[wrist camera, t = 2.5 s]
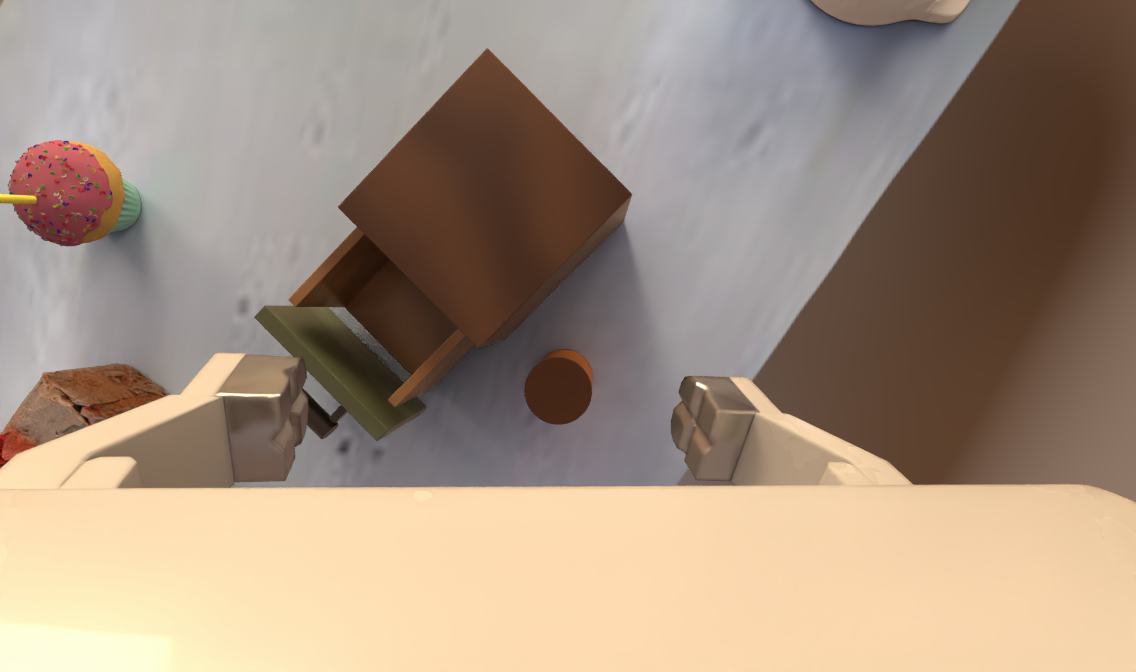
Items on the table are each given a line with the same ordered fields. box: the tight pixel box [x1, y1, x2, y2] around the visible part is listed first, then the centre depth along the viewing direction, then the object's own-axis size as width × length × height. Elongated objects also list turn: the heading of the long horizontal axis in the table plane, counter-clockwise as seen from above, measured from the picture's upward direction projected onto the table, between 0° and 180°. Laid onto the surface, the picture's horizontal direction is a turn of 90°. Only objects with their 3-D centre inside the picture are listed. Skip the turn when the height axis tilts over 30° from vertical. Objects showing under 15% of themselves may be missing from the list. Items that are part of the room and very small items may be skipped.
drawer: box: [255, 227, 475, 441], centre depth 43 cm, size 18×13×9 cm
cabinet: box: [338, 48, 632, 349], centre depth 42 cm, size 15×14×11 cm
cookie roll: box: [525, 350, 593, 424], centre depth 44 cm, size 5×5×8 cm
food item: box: [0, 363, 168, 468], centre depth 45 cm, size 14×8×10 cm, turn 142°
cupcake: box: [0, 140, 141, 246], centre depth 43 cm, size 9×8×12 cm
